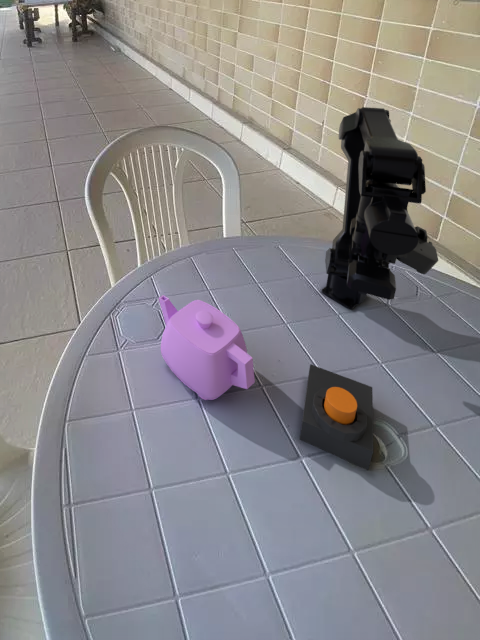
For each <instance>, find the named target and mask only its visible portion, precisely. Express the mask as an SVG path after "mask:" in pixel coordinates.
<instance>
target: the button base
mask: <svg viewBox="0 0 480 640" xmlns="http://www.w3.org/2000/svg"><path fill="white" fill-rule="evenodd" d="M308 369H309V370H308V375H307V380H306V387H305V388H306V389H305V396H304V403H303V404H304V405H303V411H302V418H301V423H300V425H301V426H300V433H299V440H300V441H302V442H305V443H307V444H309V445H311V446H313V447H315V448H317V449H320V450H322V451H324V452H326V453H329V454H331V455H333V456H335V457H336V458H337V457H338V458H340V459H342V460H344V461H346V462H348V463H351V464H352V465H355V466H357V467H358V468H361V469H363V470H366V471H369V469H370V466H371V462H372V457H373V454H374V417H373V416H374V407H373V405H374V403H373V401H374V400H373V399H374V397H373V386H371V385H368V384H366V383H362V382H359V381H357V380H354V379H353V378H352V379H351V378H349V377H346V376H344V375H341V374H338V373H335V372H334V371H330V370H327V369H325V368H321V367H319V366H317V365H313V364H309V368H308ZM331 387H340V388H343V389H345V390H347V391H348V392H349V393H351V394H352V395H353V397H354V398H355V400H356V402H357V410H356V414H355V419H354V421H353V422H352V423H351V424H348V425H344V424H340V423H338V422H335V421H334V420H332V419H331V418H330V417H329V416H328V415H327V413H326V411H325V409H324V403H325V397H326V392H327V390H328V389H329V388H331Z"/></svg>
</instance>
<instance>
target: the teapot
mask: <svg viewBox="0 0 480 640" xmlns="http://www.w3.org/2000/svg"><path fill="white" fill-rule="evenodd" d="M158 301H159V305H160V308H161V312H162V315H163V320H164V323H165V328H164V330H163V332H162V336H161V341H160V354H161V356H162V358H163V360H164V362H165V364H166V365H167V367H168V368H169V369H170V370H171V372H172V373H173V374H174V375H175V377H177V378H178V380H179V381H181V383H183V384H184V385H185V386H186V387H188V388H189V389H190V390H192V391H193V392H195V393H196V394H197V395H198V397H199V398H200V399H202V400H205V401H208V400H210V401H213V400H216V399H218V398H219V397H221V396H222V395H223V394H224V393H226V392H227V391H228V390H229V389H230V388H232V387H233V386H235V387H237V388H241V389H244V390H248V389H249V388H251V386H253V385H254V384H255V383H256V382H255V380H256V379H255V372H254V370H255V369H254V358H253V357H252V356H251V355H250V354H249V353H248V349H247V348H248V347H247V343H246V342H245V338H244V336H243V333H242V330H241V328H240V326H239V325H238V324H237V323H236V322H235V321H234V320H232V319H231V318H230V317H229V316H227V314H225V313H224V312H223V311H221V310H219V309H218V308H216V307H215V306H213V305H211V304H209V303H208V302H205V301H204V300H200V299H195V300H192V301H191V302H189V303H187V304H186V305H184V306H183V307H182V308H180V309H179V310H178V309H177V308H176V306H175V305H174V304H173V302H172V301H171V300H170V298H169V297H167V296H166V295H165V294H163V295H161V296H159V297H158Z"/></svg>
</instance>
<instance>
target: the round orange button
mask: <svg viewBox="0 0 480 640" xmlns="http://www.w3.org/2000/svg"><path fill="white" fill-rule="evenodd" d="M324 409H325V411H326V413H327V415H328V416H329V417H330V418H331V419H332V420H334V421H335V422H338V423H340V424H344V425H348V424H351V423H352V422H353V421H354V419H355V414H356V410H357V402H356V400H355V398H354V397H353V395H352V394H351V393H349V392H348V391H347V390H345V389H343V388H340V387H331V388H329V389H328V390H327V392H326V397H325V403H324Z"/></svg>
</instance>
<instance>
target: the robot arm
mask: <svg viewBox="0 0 480 640" xmlns="http://www.w3.org/2000/svg"><path fill="white" fill-rule="evenodd" d="M338 140H340V149H341V151H342V152H343V154H344V156H345V158H346V159H347V171H346V172H347V173H346V182H345V184H346V186H345V193H344V194H345V196H344V205H343V206H344V207H343V219H342V229H341V230H340V231H339V232H338V234H336V236H335V237H334V238H333V240H332V245H331V247H329V248H328V249H327V250H326V251H325V258H324V262H325V273H326V275H327V278H326V283H325V287H323V288H322V289H321V293H322V294H323V295H325V296H327V297H328V298H330V299H331V300H333V301H334V302H336V303H338V304H340V305H341V306H343V307H345V308H347V309H348V310H353V309H354V308H355V307H357V306H358V305H360V304H361V303H363V302H365V300H366V298H367V296H368V295H370V296H374V297H377V298H381V299H384V300H388V301H390V300H391V301H392V300H394V299H395V295H396V290H397V284H396V275H395V273H393V272H392V271H391V268H390V264H394V265H395V264H396V261H398V262H400V263H402V264H404V265H406V266H407V267H410V268H411V269H414V270H416V272H417V273H418V274H421V275H426V274H427V273H428V272H429V271H431V269H432V268H433V267H434V266H435V265H436V264H437V263H438V262H439V256H438V252H437V249H436V247H435V246H434V245H433V241H428V232H427V230H426V229H424V228H423V227H420V226H414V223H413V221H412V217H411V216H410V214H409V210H408V207H409V203H411V204H412V203H413V204H420V205H421V204H422V200H423V199H422V198H423V195H424V194H425V193H426V192H427V187H426V168H425V164H424V163H423V159H422V157H421V155H419V154H418V151H417V150H416V149H415V148H414V146H412V145H411V144H410V143H408V142H405V141H403V140H400V139H399V138H398V136H397V135H396V132H395V130H394V127H393V125H392V120H391V119H390V111H389V109H385V108H382V107H367V106H366V107H365V106H362V107H361V108H360V107H358V108H357V110H356V111H355V112H353V113H351V114H348V115H345V116H343V117H342V119H341V121H340V124H339V127H338ZM399 185H401V186H411V188H406V187H399Z"/></svg>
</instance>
